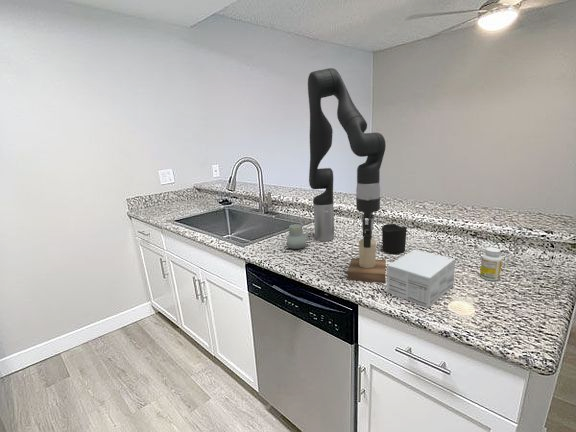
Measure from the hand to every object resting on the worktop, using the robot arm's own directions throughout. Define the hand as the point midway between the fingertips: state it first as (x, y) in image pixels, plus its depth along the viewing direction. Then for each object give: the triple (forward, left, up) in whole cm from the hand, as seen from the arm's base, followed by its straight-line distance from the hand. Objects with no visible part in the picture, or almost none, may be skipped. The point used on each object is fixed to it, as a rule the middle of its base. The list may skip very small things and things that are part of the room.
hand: (367, 242), depth 103 cm
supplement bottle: (-4, +38, -12) cm, 40 cm away
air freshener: (-22, -32, -12) cm, 40 cm away
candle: (0, 0, -9) cm, 9 cm away
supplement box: (+8, +16, -12) cm, 22 cm away
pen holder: (-24, +9, -12) cm, 28 cm away
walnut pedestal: (0, 0, -11) cm, 11 cm away
